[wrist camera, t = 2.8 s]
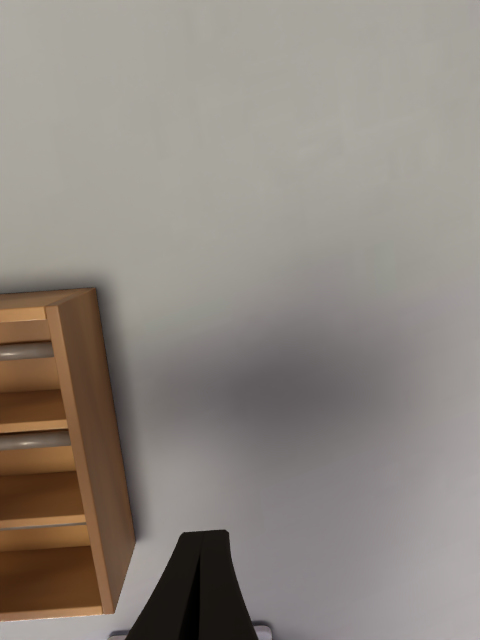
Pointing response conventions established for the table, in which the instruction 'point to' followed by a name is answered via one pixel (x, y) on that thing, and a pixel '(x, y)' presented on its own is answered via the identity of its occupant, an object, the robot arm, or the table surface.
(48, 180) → the table surface
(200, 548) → the robot arm
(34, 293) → the cutlery tray
